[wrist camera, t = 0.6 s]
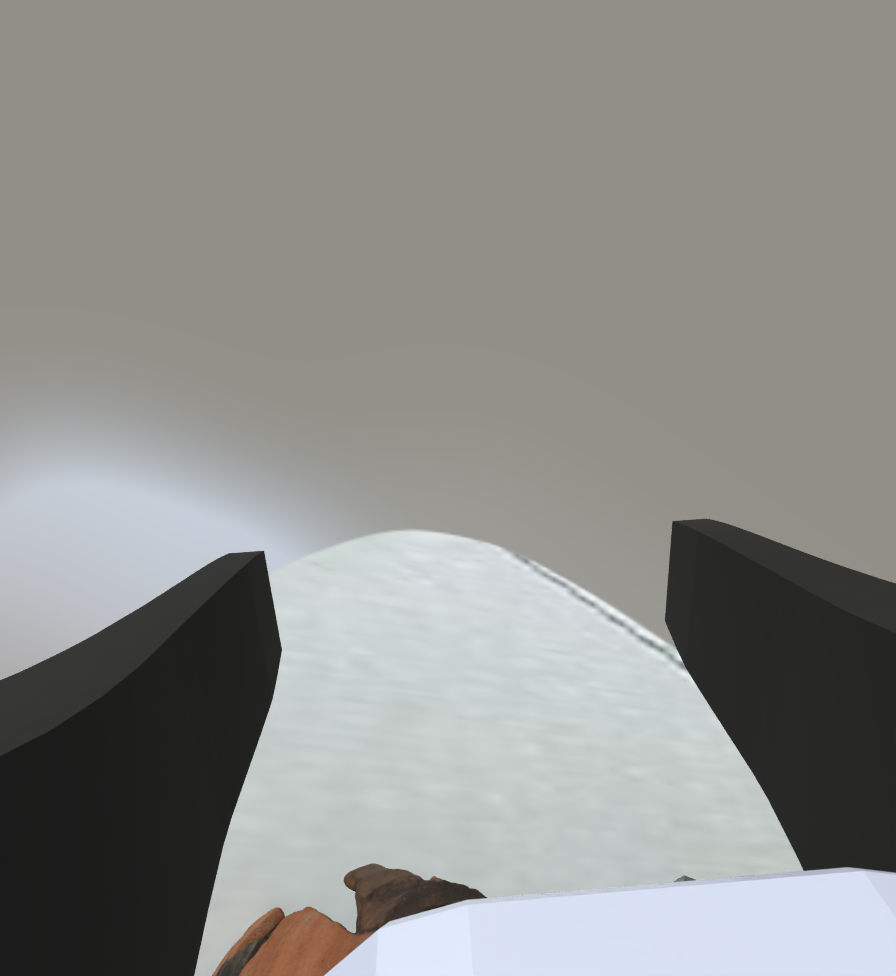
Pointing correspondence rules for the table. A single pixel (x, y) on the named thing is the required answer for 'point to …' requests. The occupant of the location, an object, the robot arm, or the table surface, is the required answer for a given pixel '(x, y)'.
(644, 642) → the table surface
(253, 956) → the pottery mug
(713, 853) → the table surface
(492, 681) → the table surface
